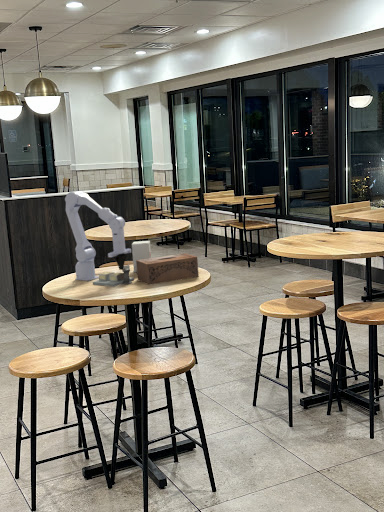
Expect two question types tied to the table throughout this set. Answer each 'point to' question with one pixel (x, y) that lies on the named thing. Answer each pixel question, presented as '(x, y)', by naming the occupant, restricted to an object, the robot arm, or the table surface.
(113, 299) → the table surface
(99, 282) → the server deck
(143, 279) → the tissue box cover
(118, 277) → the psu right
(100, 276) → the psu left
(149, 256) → the supplement box
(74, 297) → the table surface
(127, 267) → the swing bar
